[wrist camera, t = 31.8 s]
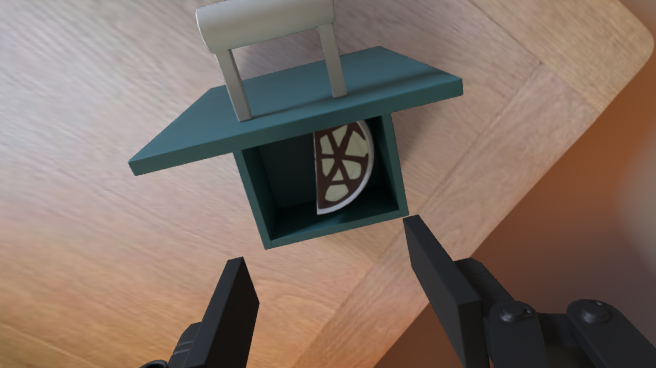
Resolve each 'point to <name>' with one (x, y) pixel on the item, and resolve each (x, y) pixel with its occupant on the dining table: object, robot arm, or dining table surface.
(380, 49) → the lid
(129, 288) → the dining table surface
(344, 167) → the food container
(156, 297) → the dining table surface
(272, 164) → the chest
